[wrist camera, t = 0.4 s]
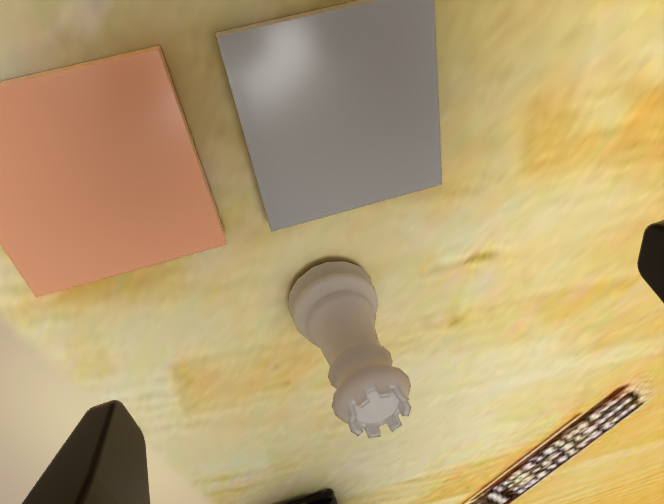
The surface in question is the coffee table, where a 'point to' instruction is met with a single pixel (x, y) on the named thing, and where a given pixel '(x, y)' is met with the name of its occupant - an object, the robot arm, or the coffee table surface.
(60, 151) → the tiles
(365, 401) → the rook chess piece
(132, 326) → the coffee table surface
